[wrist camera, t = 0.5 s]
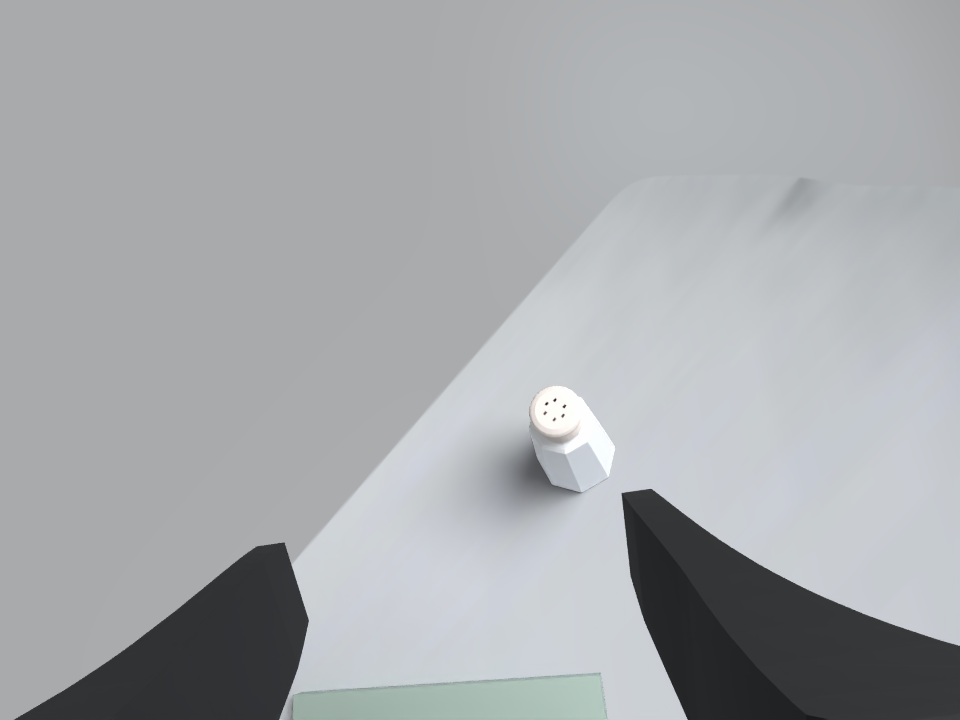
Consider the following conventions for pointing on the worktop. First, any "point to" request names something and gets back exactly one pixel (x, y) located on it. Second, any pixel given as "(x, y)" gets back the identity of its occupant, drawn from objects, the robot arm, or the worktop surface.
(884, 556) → the worktop surface
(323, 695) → the ridge stand
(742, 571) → the robot arm
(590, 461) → the pepper shaker
